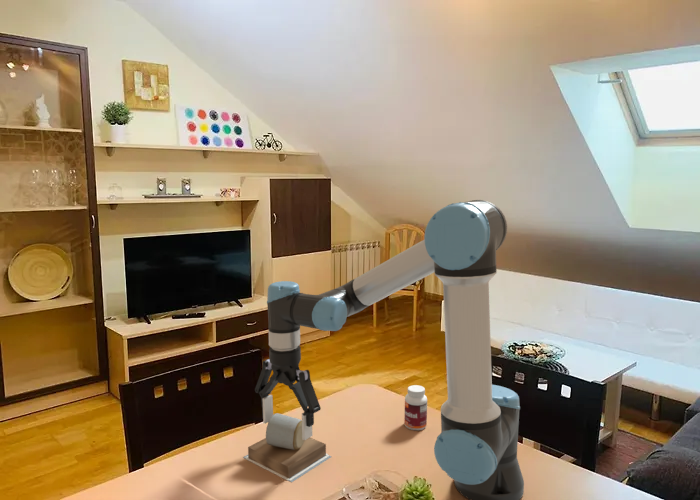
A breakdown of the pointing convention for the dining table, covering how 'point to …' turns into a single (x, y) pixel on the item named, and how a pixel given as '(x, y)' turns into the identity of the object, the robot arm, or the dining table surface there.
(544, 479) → the dining table surface
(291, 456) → the walnut slab
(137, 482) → the dining table surface
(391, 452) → the dining table surface
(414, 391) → the pill bottle
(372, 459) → the dining table surface
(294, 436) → the ceramic mug
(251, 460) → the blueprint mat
